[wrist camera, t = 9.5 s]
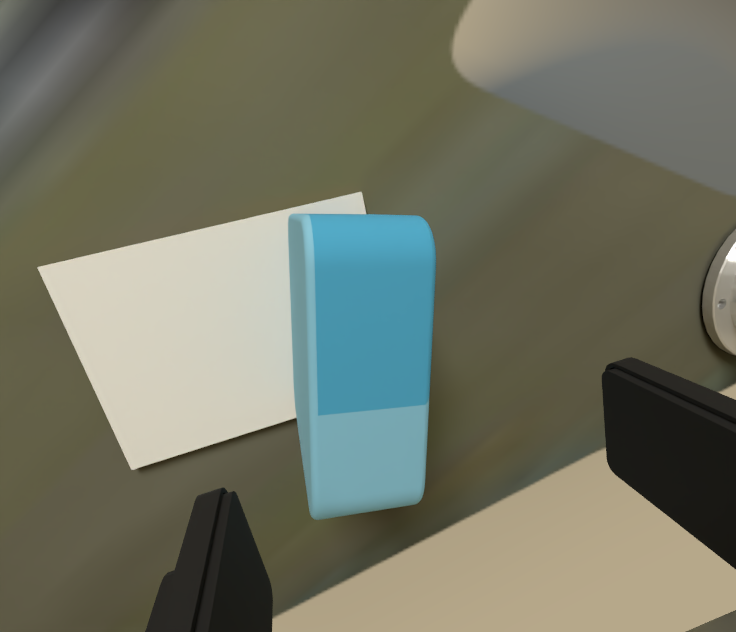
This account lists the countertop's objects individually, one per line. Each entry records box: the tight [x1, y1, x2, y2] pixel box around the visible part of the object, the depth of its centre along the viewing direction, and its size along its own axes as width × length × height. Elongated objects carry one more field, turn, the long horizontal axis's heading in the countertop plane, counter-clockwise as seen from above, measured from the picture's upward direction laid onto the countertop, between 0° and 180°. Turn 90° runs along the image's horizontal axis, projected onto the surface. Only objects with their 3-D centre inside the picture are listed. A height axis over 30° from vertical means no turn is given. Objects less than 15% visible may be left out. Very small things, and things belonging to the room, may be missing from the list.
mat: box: [37, 192, 366, 470], centre depth 25 cm, size 18×13×1 cm
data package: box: [288, 214, 436, 520], centre depth 20 cm, size 12×4×12 cm, turn 1°
